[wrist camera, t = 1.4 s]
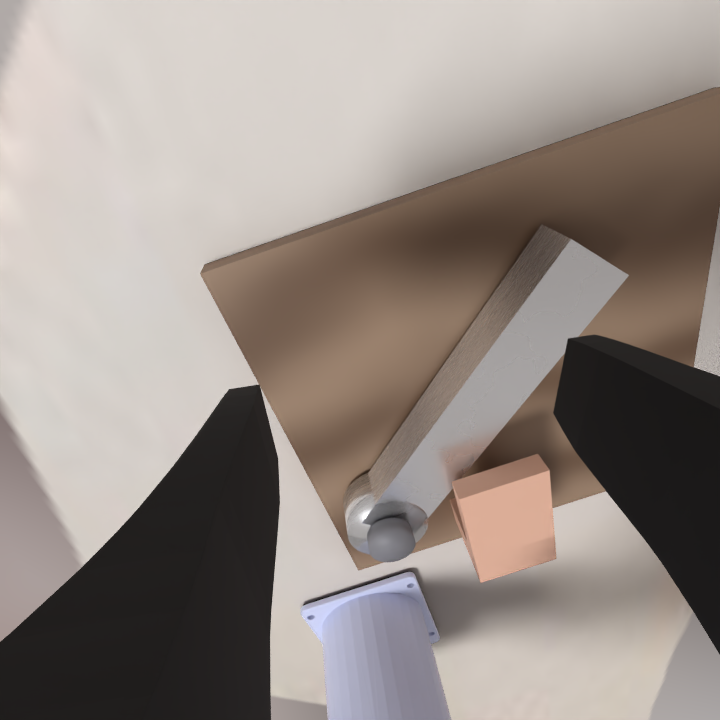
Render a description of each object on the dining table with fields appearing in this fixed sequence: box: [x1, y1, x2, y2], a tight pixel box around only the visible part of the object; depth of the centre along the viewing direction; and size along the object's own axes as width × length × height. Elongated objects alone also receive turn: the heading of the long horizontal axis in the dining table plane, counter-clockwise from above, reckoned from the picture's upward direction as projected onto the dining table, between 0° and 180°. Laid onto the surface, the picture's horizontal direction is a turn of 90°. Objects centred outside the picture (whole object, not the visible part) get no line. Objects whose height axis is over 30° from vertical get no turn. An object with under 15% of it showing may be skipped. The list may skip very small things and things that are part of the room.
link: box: [343, 224, 629, 555], centre depth 19 cm, size 17×4×2 cm, turn 152°
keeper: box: [367, 454, 556, 583], centre depth 22 cm, size 9×7×4 cm
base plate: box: [200, 88, 720, 570], centre depth 21 cm, size 20×20×1 cm
